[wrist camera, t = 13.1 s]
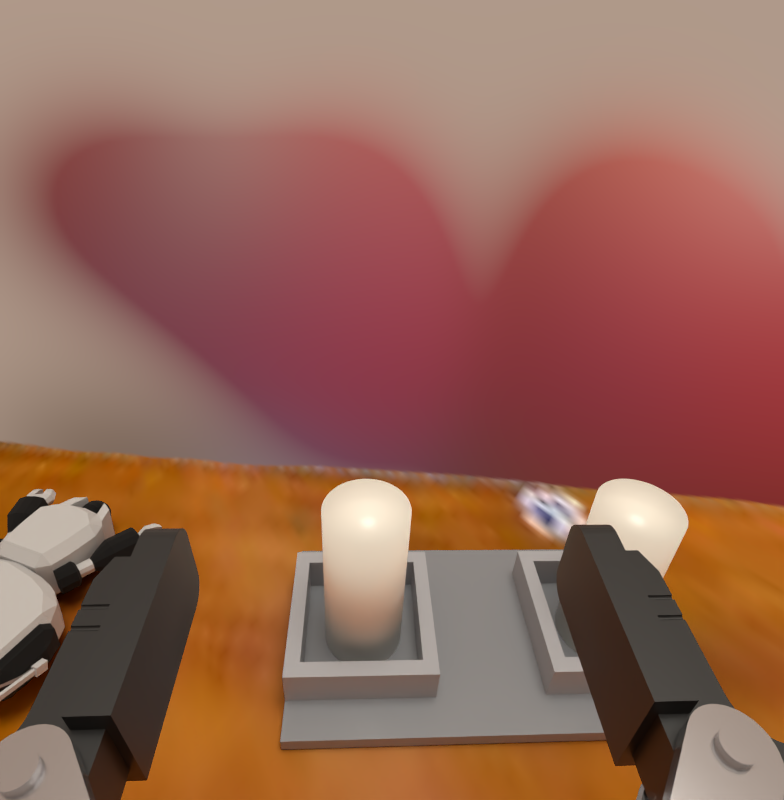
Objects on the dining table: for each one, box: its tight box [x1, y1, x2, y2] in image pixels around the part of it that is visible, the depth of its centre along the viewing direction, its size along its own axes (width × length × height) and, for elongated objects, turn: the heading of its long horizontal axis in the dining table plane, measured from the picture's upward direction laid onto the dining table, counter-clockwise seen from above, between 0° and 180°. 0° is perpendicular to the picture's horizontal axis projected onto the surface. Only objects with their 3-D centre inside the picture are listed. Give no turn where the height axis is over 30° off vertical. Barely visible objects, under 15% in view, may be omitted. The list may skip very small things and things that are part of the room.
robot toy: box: [0, 489, 162, 702], centre depth 32 cm, size 12×4×15 cm
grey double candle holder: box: [280, 479, 688, 750], centre depth 30 cm, size 22×12×11 cm, turn 93°
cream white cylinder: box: [321, 479, 412, 661], centre depth 29 cm, size 4×4×10 cm
